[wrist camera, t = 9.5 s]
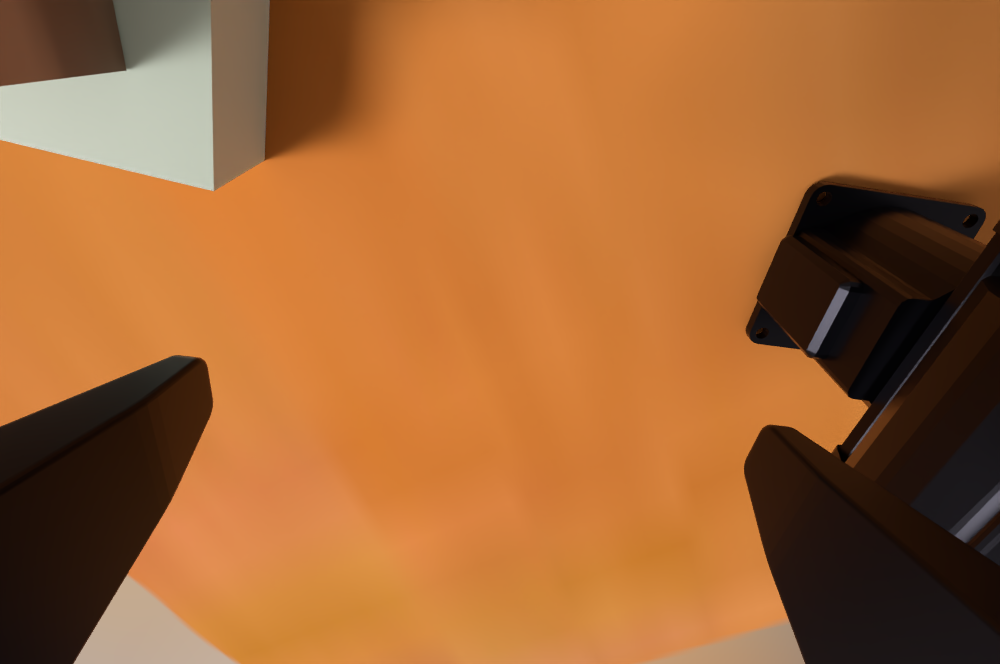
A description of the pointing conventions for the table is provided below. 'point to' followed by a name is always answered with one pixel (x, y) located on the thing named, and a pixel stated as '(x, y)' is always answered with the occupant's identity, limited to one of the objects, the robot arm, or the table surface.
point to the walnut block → (57, 40)
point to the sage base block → (160, 95)
